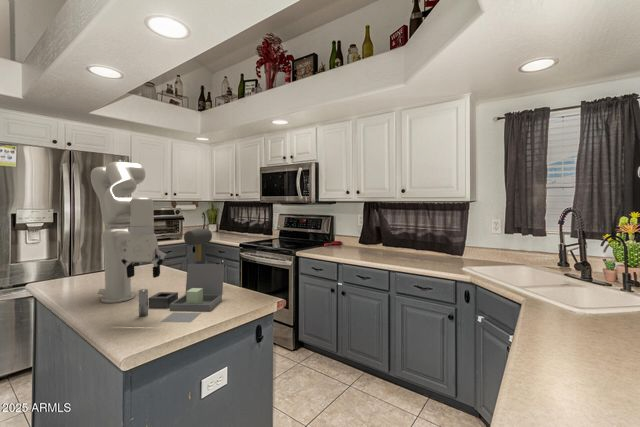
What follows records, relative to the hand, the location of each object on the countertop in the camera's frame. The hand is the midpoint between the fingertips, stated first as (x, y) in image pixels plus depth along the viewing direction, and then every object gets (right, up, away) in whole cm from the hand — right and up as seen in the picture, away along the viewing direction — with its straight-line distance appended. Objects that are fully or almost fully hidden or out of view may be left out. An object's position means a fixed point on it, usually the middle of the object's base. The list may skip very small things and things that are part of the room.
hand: (143, 276), depth 114 cm
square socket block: (+1, -15, +13) cm, 20 cm away
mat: (+14, -15, -1) cm, 21 cm away
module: (+15, -14, +10) cm, 23 cm away
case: (+15, -15, +12) cm, 24 cm away
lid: (+15, -5, +20) cm, 25 cm away
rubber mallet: (+7, -14, +35) cm, 38 cm away
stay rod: (-1, -15, +1) cm, 15 cm away
